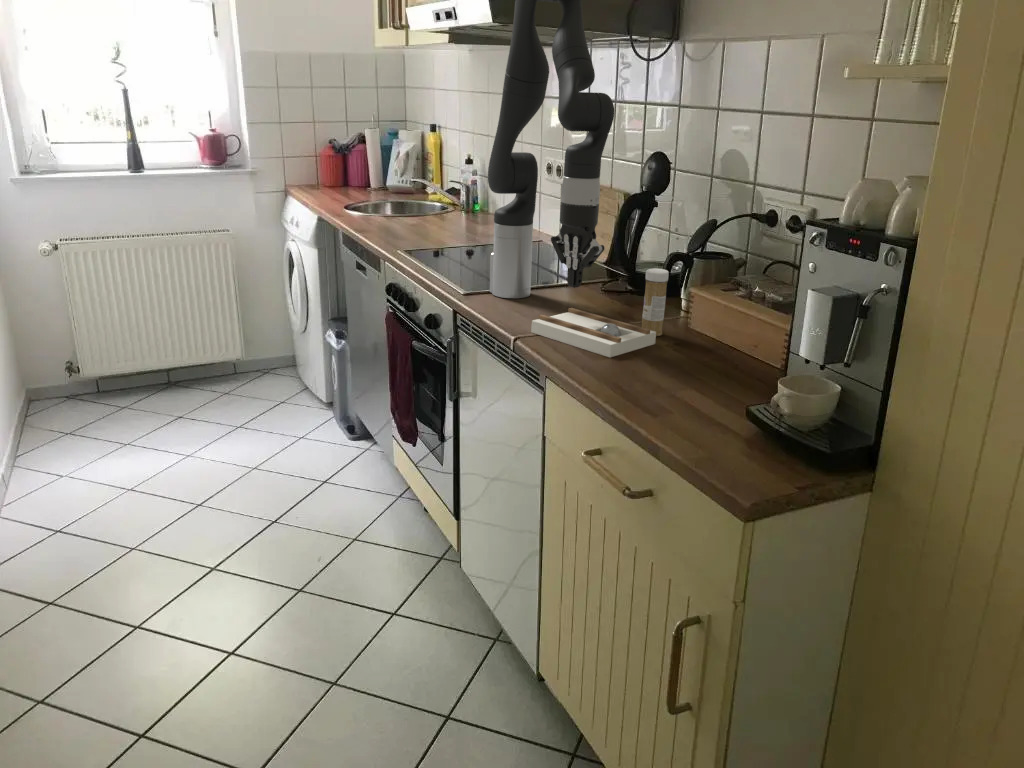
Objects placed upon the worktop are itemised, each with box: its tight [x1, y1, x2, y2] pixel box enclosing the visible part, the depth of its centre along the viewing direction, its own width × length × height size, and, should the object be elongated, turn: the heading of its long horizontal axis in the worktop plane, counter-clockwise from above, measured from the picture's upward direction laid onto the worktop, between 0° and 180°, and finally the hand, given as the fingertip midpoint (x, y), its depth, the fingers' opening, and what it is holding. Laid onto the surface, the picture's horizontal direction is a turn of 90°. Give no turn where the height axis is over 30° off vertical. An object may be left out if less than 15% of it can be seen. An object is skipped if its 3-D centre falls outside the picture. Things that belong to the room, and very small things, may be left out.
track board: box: [530, 307, 657, 358], centre depth 164 cm, size 21×14×3 cm, turn 44°
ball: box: [600, 323, 620, 337], centre depth 161 cm, size 4×4×4 cm
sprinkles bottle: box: [641, 267, 670, 337], centre depth 166 cm, size 5×5×13 cm
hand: (574, 286), depth 165 cm, fingers closed
